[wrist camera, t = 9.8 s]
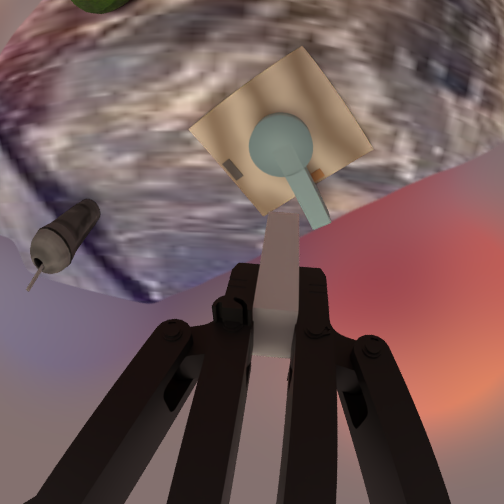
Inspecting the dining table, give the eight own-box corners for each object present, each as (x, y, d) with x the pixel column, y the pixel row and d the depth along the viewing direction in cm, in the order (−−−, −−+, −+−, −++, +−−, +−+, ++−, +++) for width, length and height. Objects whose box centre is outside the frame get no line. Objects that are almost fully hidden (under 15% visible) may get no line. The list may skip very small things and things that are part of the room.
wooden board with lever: (301, 46, 31) (303, 44, 28) (370, 146, 38) (378, 155, 34) (191, 126, 39) (182, 133, 35) (264, 211, 45) (261, 225, 42)
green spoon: (240, 129, 34) (236, 134, 32) (294, 102, 32) (294, 105, 29) (295, 224, 41) (296, 236, 38) (344, 204, 38) (348, 215, 36)
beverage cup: (84, 183, 45) (7, 252, 29) (114, 211, 48) (46, 290, 31) (68, 209, 48) (0, 279, 32) (95, 235, 51) (35, 312, 35)
